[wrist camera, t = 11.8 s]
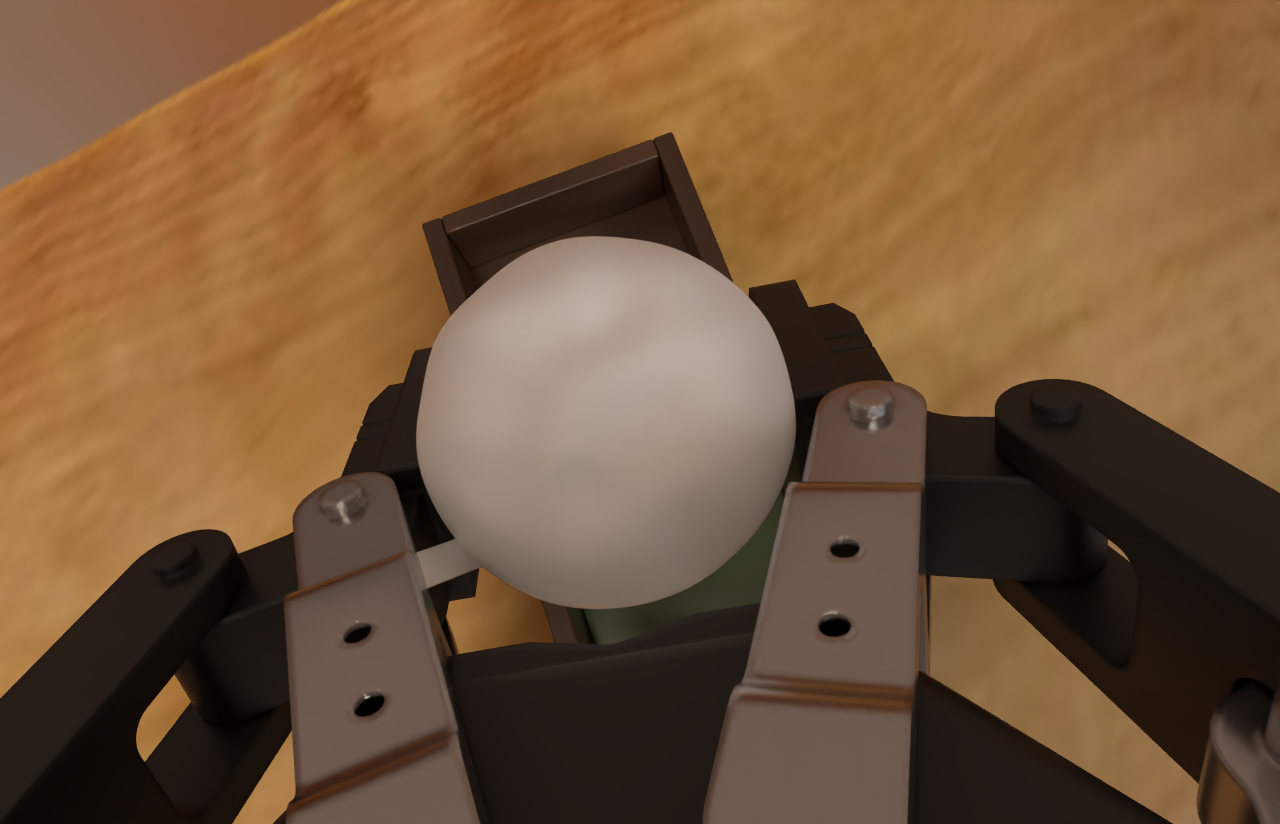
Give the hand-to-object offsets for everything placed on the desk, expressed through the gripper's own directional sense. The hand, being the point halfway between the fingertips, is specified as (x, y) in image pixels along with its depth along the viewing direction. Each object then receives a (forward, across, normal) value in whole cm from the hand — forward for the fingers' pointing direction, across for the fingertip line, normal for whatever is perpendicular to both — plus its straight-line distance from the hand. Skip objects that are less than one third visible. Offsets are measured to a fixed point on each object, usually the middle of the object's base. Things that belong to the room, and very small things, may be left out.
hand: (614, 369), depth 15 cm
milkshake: (+2, 0, +5) cm, 5 cm away
